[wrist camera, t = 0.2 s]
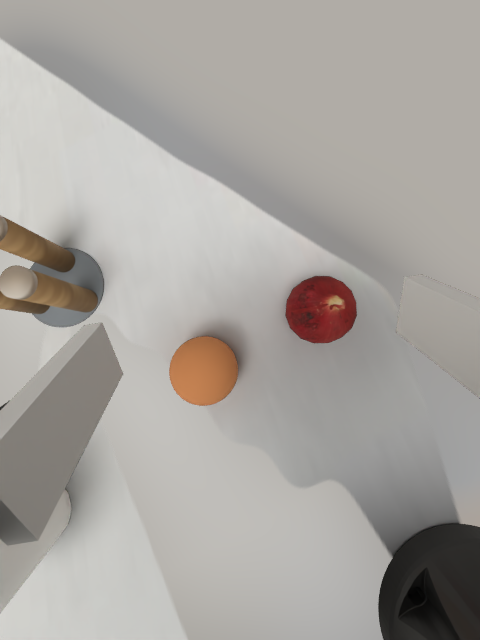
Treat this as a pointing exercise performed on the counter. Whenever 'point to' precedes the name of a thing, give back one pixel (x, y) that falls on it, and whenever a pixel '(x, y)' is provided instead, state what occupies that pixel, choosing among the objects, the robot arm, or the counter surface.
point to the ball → (203, 370)
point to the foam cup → (30, 552)
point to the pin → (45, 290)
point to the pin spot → (80, 275)
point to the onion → (321, 309)
